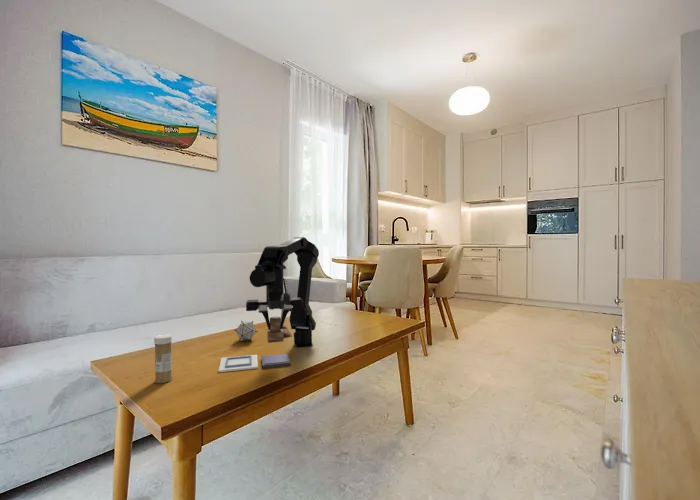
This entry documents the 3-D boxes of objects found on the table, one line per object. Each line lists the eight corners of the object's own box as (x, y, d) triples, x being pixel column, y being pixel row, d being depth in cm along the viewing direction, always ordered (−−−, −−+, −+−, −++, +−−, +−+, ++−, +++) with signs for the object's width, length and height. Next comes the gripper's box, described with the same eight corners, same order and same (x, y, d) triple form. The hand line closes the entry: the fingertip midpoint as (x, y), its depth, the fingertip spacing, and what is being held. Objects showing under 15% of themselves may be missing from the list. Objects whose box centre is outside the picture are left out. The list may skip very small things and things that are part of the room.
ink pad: (287, 356, 122) (287, 353, 122) (290, 365, 113) (290, 361, 113) (261, 359, 119) (261, 355, 119) (262, 368, 111) (262, 364, 111)
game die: (250, 348, 143) (265, 327, 145) (242, 346, 135) (258, 325, 137) (234, 336, 145) (249, 316, 147) (226, 334, 137) (241, 313, 139)
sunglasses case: (293, 336, 146) (285, 324, 145) (279, 346, 144) (271, 333, 143) (286, 326, 163) (279, 315, 162) (273, 335, 161) (266, 323, 160)
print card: (257, 356, 122) (257, 353, 122) (257, 368, 111) (257, 365, 111) (221, 359, 119) (221, 356, 119) (218, 372, 107) (218, 369, 107)
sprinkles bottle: (152, 381, 101) (151, 336, 101) (168, 376, 105) (167, 332, 104) (158, 385, 98) (157, 339, 98) (175, 380, 102) (174, 335, 101)
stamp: (282, 337, 119) (281, 315, 119) (283, 341, 114) (283, 318, 114) (267, 338, 117) (267, 316, 117) (268, 342, 113) (267, 319, 112)
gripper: (245, 287, 105) (246, 338, 105) (306, 285, 110) (306, 333, 111) (246, 283, 116) (246, 329, 116) (301, 281, 121) (301, 325, 121)
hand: (275, 329), depth 116 cm, fingers closed on stamp, 4 cm apart
